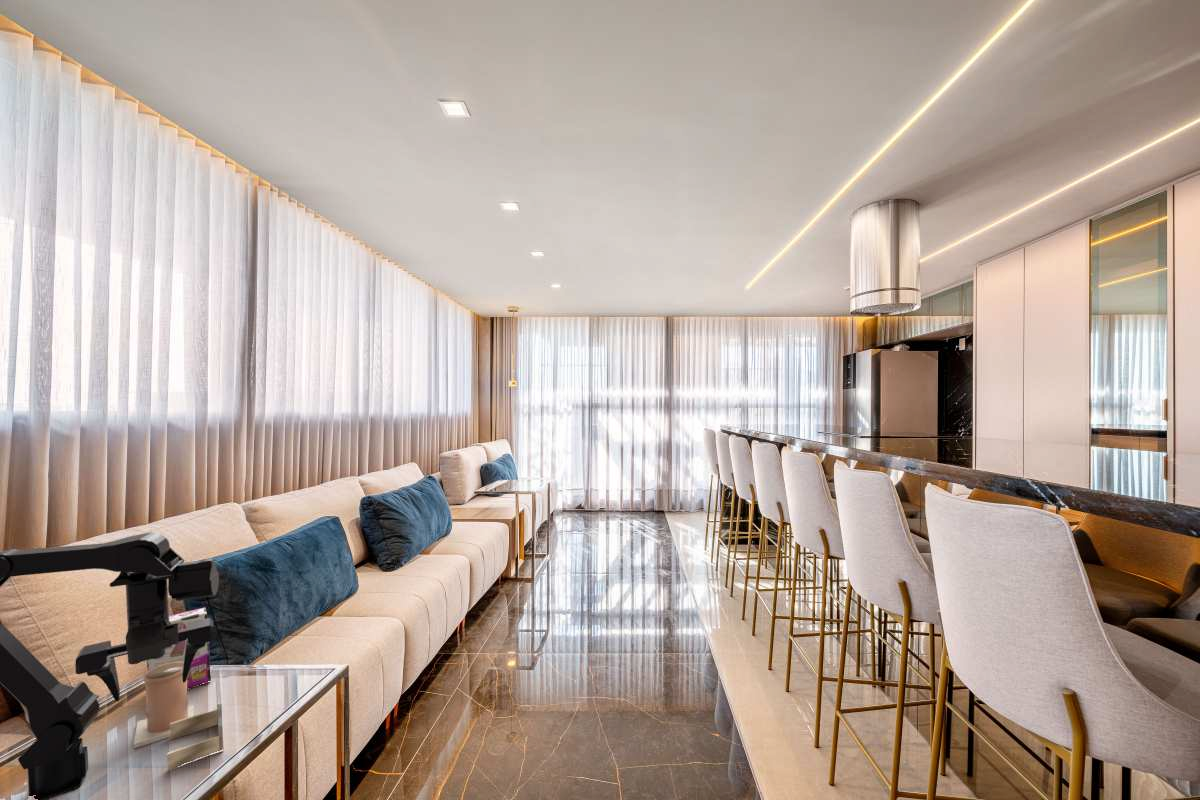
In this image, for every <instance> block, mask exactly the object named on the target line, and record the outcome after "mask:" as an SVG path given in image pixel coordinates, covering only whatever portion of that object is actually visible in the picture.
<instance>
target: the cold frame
mask: <svg viewBox="0 0 1200 800" xmlns="http://www.w3.org/2000/svg"><path fill="white" fill-rule="evenodd" d="M220 679H221V678H220V677H217V678H215V690H216V692H215V693H216V708H214V709H213V708H212V709H211V710H208V711H205V712H200V713H197V714H194V716H191V717H188V718H184V719H181V720H178V721H175V722H172V723H170V736H171V737H170V740H174V739H177V738H181V737H183V736H186V735H189V734H192V733H196V732H199V731H202V730H205V729H208V728H211V727H214V726H217V731H218V732H217V733H218V735H217V736H213V737H211V738H208V739H205V740H202V741H199V742H196V743H193V744H190V745H186V746H184V747H180V748H178V749H175V750H171V751H169V752H167V771H168V772H170V770H171V771H173V770H176V769H178V768H177V767H178V766H181V765H182V764H184V763H187V762H190V761H193V760H195V759H197V758H200V757H203V756H206V755H209V754H211V753H214V752H217V751H220V750H222V749H223V750H224V732H223V731H224V729H223V710H222V709H223V708H222V705H223V704H222V692H221V682H220V681H221V680H220ZM175 768H176V769H175Z"/></svg>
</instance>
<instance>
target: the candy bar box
mask: <svg viewBox="0 0 1200 800" xmlns="http://www.w3.org/2000/svg"><path fill="white" fill-rule="evenodd" d="M207 618H208V613H207V609H206V607H202V608H201V607H200V608H196V609H193V610H188V611H184V612H180V613H176V614H172V615H169V625H171V624H175V623H178V631H181V630H185V629H187V627H188V623H189V622H193V621H198V620H202V619H207ZM209 643H210V642H207V643H206V646H205V647H203V648H199V649H198V651H197V652H196V654H195V656H194V658H193V661H192V663H191V666H190V670H189V673H188V676H187V690H189V689H188V688H191V689H193V688H192V687H194V686H197V685H200V684H202V683H206V682H208V681H212V680H211V679H212V677H211V657H210V644H209ZM185 647H186V640H184V641H180V642H178V644H175V645H172V647H168V648H165V654H164V655H163V656H162V657H160V658H158V659H150V660H146V669H147V671H146V672H148V671H149V670H151V669H153V668H155V667H157V666H160V665H163V664H167V663H171V662H184V656H185ZM200 686H201V685H200ZM197 687H198V686H197ZM194 688H195V687H194Z"/></svg>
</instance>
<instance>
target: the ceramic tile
mask: <svg viewBox="0 0 1200 800" xmlns="http://www.w3.org/2000/svg"><path fill="white" fill-rule="evenodd" d="M194 713H195V705H194V704H191V705H188V717H191V716H194V715H195V714H194ZM168 738H171V736H170V729H169V730H166V731H162V732H149V731H148V730H147V718H145V719H141V720H138V721H137V724H136V729H135V732H134V738H133V739H134V740H133V747H132V748H133V749H136V748H140V747H143V746H146V745H149V744H152V743H154V742H158V741H160V740H164V739H168Z"/></svg>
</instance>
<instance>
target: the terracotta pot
mask: <svg viewBox="0 0 1200 800" xmlns="http://www.w3.org/2000/svg"><path fill="white" fill-rule="evenodd" d="M183 664H184V662H171V663H167V664H163V665H160V666H157V667H155V668H153V669H151V670H149V671H148V672H147V671H146V672H145V673H144V674H143V677H142V678H143V679H142V680H143V682H144V683H145V684H144V685H145V705H146V706H145V707H146V710H145V711H146V719H147V730H148V731H149V732H162V731H166V730H169V729H170V723H172V722H175V721H178V720H181V719H184V718H188V706H189V705H188V701H189V700H188V689H187V679H186V682H184V683H183V677H182V675H183Z"/></svg>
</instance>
